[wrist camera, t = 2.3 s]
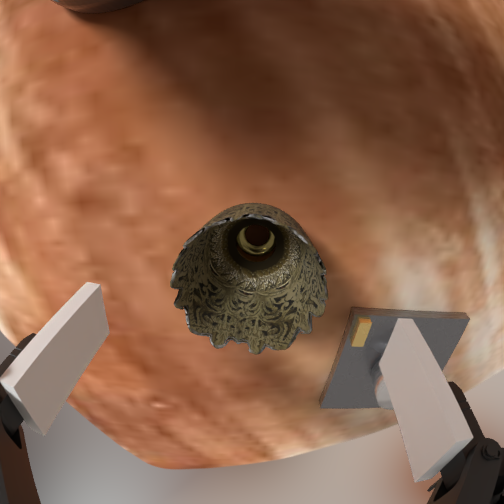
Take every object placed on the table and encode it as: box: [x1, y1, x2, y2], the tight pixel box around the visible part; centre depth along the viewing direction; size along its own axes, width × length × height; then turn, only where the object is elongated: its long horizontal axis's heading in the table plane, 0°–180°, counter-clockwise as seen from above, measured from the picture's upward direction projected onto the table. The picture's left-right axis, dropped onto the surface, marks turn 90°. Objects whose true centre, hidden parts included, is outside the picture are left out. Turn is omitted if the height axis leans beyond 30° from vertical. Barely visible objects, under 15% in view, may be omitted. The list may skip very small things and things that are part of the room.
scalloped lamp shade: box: [170, 203, 328, 354], centre depth 18 cm, size 8×7×8 cm
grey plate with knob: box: [319, 307, 470, 410], centre depth 24 cm, size 12×12×4 cm
